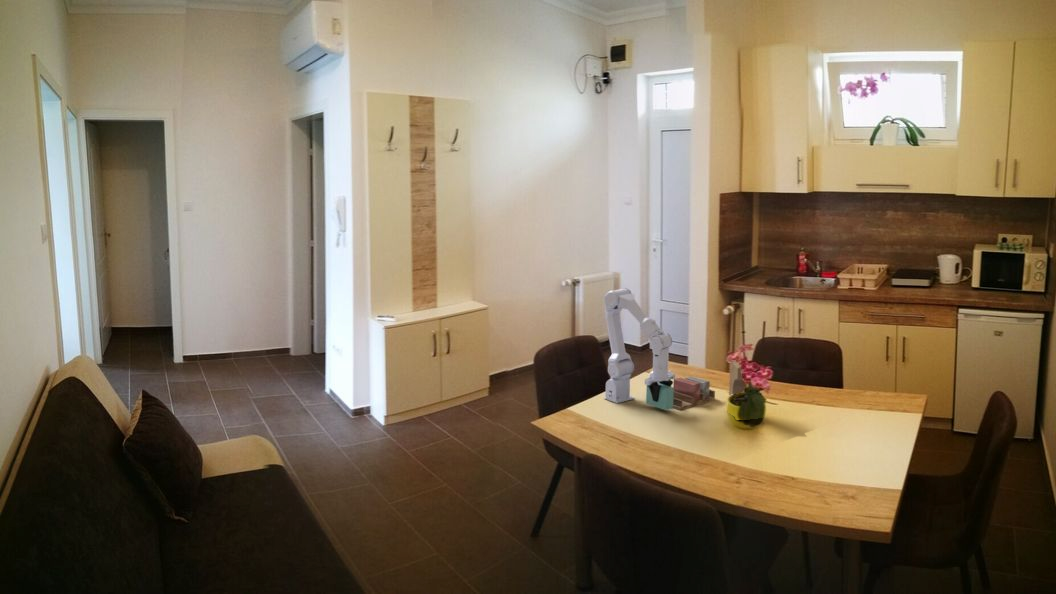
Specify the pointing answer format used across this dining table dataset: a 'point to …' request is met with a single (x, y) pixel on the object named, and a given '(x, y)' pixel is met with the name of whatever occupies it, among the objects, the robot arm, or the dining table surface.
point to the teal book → (661, 397)
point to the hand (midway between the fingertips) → (659, 399)
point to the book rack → (691, 392)
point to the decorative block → (736, 379)
